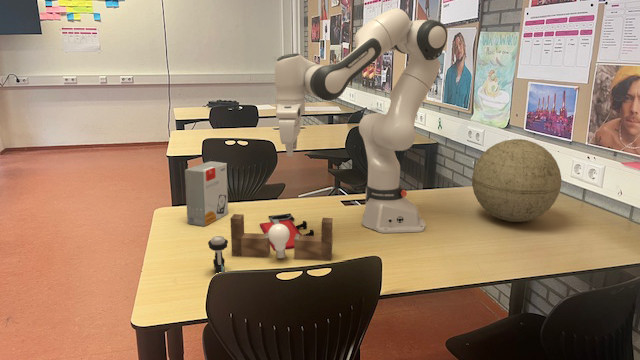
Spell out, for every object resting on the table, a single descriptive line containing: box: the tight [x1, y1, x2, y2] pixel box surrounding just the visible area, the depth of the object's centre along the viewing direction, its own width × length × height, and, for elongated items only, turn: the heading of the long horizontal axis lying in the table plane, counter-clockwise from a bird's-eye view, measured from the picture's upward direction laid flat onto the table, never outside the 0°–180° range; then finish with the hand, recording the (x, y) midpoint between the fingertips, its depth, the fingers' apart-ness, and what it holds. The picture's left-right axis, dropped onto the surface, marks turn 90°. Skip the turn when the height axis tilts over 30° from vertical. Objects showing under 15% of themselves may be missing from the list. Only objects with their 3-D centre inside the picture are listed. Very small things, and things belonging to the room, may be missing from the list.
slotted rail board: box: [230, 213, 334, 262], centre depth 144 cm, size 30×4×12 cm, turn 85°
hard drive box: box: [184, 160, 229, 227], centre depth 174 cm, size 16×8×20 cm, turn 158°
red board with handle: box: [259, 212, 315, 252], centre depth 165 cm, size 30×3×15 cm
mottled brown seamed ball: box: [471, 138, 562, 223], centre depth 175 cm, size 30×30×30 cm
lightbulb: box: [268, 224, 290, 259], centre depth 142 cm, size 6×6×11 cm
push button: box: [207, 235, 229, 274], centre depth 135 cm, size 7×5×10 cm
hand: (291, 152), depth 152 cm, fingers open, 8 cm apart
